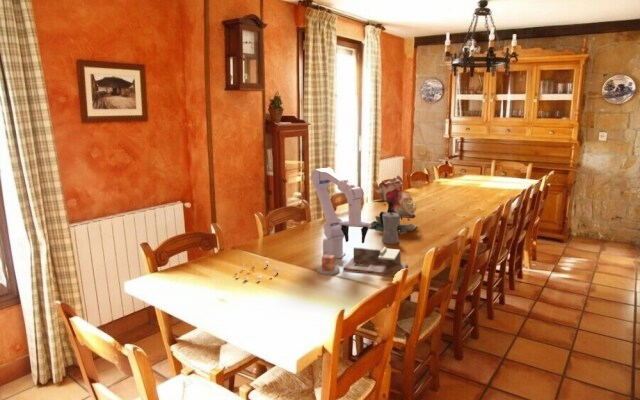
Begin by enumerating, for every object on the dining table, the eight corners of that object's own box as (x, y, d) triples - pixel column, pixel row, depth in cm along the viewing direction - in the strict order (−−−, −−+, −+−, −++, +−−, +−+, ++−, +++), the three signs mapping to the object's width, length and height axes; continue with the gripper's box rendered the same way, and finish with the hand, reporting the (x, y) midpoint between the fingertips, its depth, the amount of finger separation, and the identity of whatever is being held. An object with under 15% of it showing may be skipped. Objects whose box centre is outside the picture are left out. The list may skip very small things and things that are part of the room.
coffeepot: (405, 243, 245) (406, 210, 241) (392, 246, 240) (392, 212, 236) (386, 236, 257) (386, 205, 254) (373, 239, 252) (373, 207, 249)
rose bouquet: (408, 236, 258) (409, 183, 252) (363, 228, 275) (364, 179, 269) (427, 226, 278) (429, 177, 272) (384, 220, 295) (385, 174, 289)
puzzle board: (343, 270, 205) (343, 256, 204) (352, 260, 219) (352, 246, 218) (401, 277, 196) (401, 262, 195) (407, 265, 210) (407, 252, 209)
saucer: (314, 273, 202) (314, 271, 201) (321, 266, 211) (321, 264, 211) (335, 276, 198) (335, 274, 198) (342, 268, 207) (342, 266, 207)
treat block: (321, 270, 203) (321, 257, 202) (325, 267, 207) (325, 254, 206) (331, 271, 201) (331, 258, 200) (334, 268, 205) (334, 255, 204)
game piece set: (257, 264, 216) (257, 256, 215) (288, 273, 204) (288, 265, 203) (225, 276, 201) (224, 267, 201) (256, 286, 189) (255, 277, 188)
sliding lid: (378, 258, 200) (378, 253, 199) (384, 249, 212) (384, 245, 211) (394, 260, 198) (394, 255, 197) (399, 251, 209) (399, 246, 209)
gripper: (336, 214, 209) (337, 243, 211) (368, 215, 204) (368, 245, 206) (341, 211, 215) (342, 239, 217) (371, 212, 210) (371, 241, 213)
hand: (355, 242), depth 212 cm, fingers open, 7 cm apart
